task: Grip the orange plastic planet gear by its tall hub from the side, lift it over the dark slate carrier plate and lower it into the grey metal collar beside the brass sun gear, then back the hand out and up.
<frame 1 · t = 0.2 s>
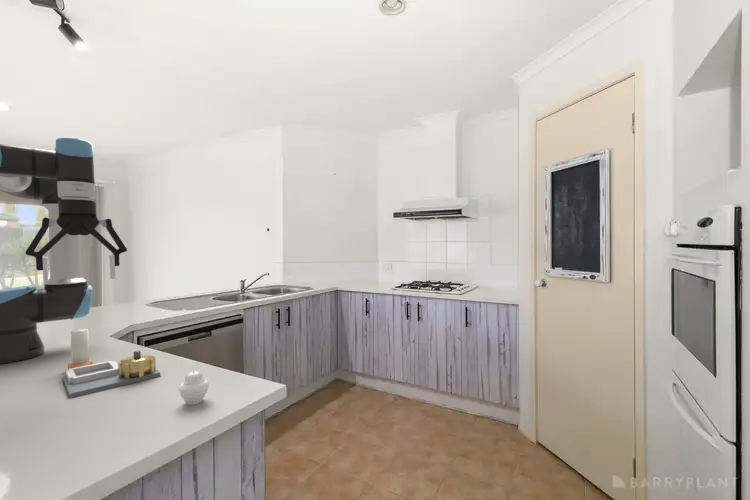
hand: (81, 280, 93), 27 cm above the countertop, fingers open, 13 cm apart
muffin: (194, 402, 80), on the countertop
carrier plate: (111, 377, 97), on the countertop
planet gear: (80, 369, 105), on the countertop
sun gear: (137, 376, 97), resting on carrier plate
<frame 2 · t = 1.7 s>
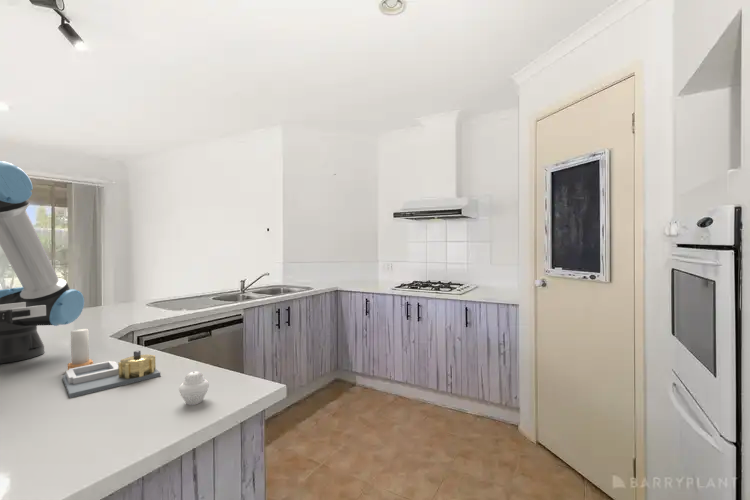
hand: (35, 308, 96), 20 cm above the countertop, fingers open, 13 cm apart
nothing on the countertop moved.
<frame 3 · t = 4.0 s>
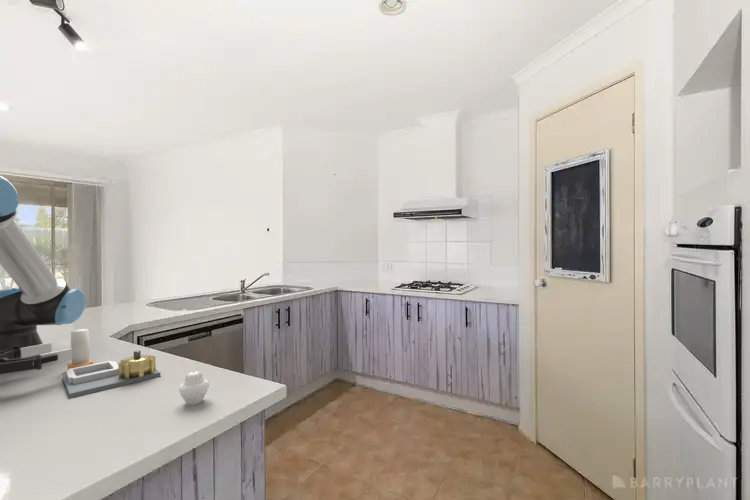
hand: (61, 350, 100), 7 cm above the countertop, fingers open, 13 cm apart
nothing on the countertop moved.
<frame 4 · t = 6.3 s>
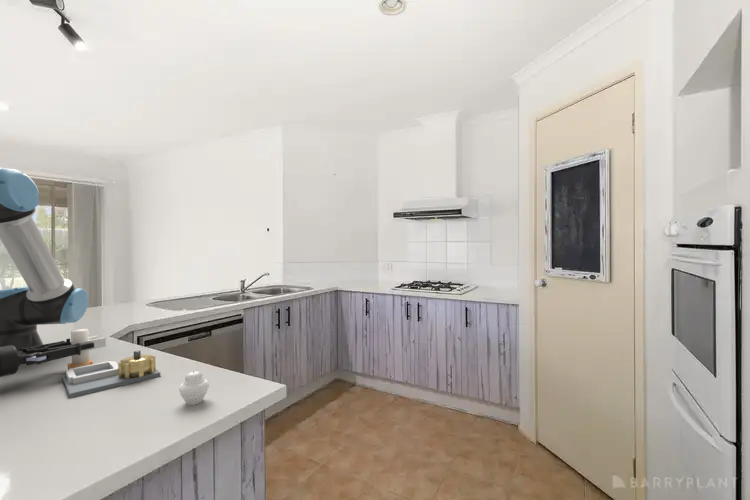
hand: (101, 341, 109), 7 cm above the countertop, fingers closed on planet gear, 4 cm apart
planet gear: (80, 369, 105), on the countertop, touching gripper
everything else where it was.
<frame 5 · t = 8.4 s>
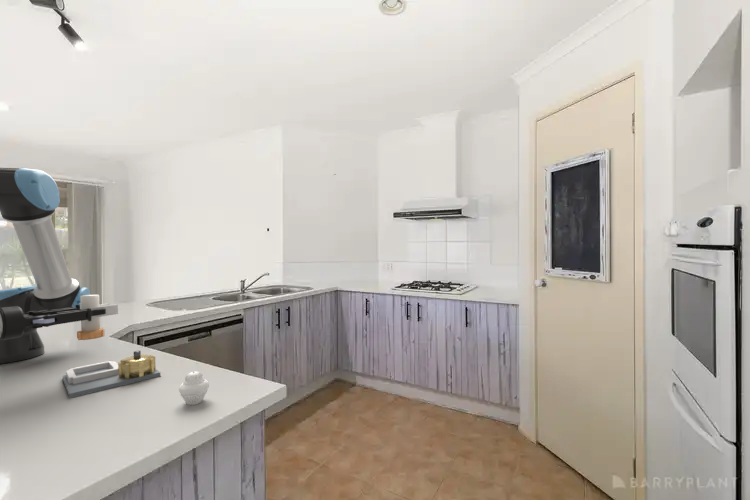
hand: (112, 308, 101), 18 cm above the countertop, fingers closed on planet gear, 4 cm apart
planet gear: (91, 337, 97), point 11 cm above the countertop, touching gripper
everything else where it was.
when the fingers open (9 cm above the countertop, at t = 10.7 s): planet gear drops 1 cm, resting on carrier plate.
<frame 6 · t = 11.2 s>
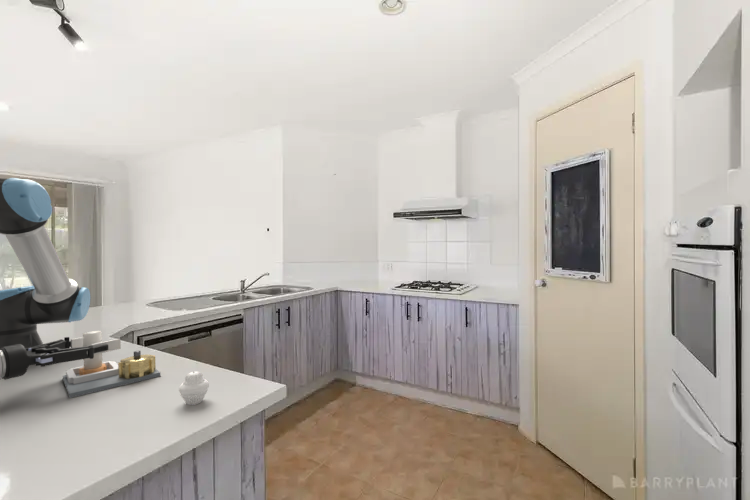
hand: (109, 341, 100), 9 cm above the countertop, fingers open, 11 cm apart
planet gear: (93, 374, 97), point 1 cm above the countertop, touching carrier plate
everything else where it was.
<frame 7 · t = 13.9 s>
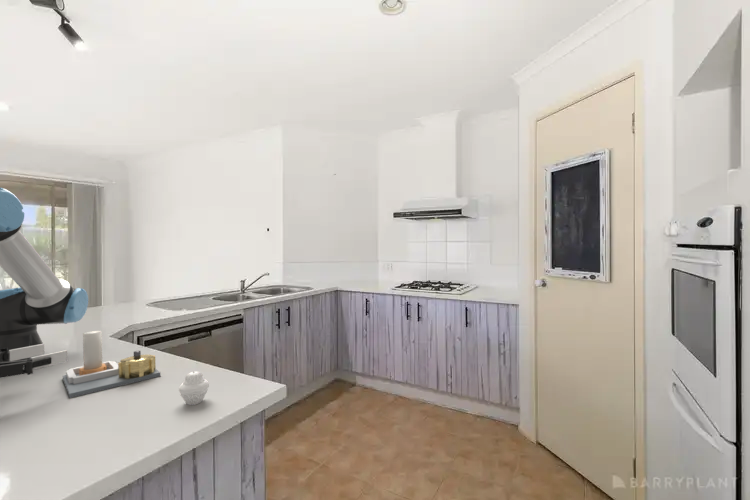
hand: (55, 352, 90), 9 cm above the countertop, fingers open, 13 cm apart
nothing on the countertop moved.
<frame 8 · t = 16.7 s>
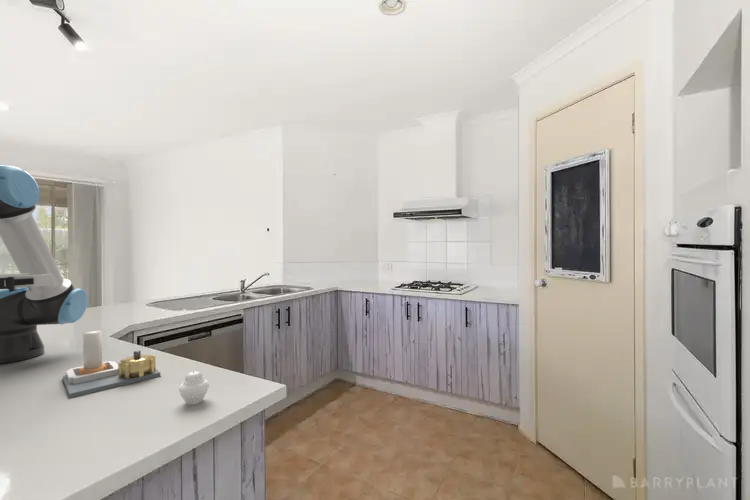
hand: (39, 279, 90), 28 cm above the countertop, fingers open, 13 cm apart
nothing on the countertop moved.
at the end: planet gear 0.1 cm from the target spot on the carrier plate, point 1.0 cm above the carrier plate's base; planet gear tilted 0°; the gripper is holding nothing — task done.
